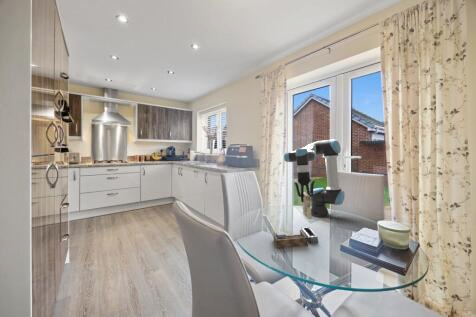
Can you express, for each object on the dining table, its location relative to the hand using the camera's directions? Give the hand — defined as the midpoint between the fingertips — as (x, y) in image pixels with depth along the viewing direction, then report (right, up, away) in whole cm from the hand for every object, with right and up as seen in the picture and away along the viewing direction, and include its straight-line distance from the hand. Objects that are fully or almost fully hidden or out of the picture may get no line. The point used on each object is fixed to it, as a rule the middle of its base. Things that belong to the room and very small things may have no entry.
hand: (306, 206), depth 131 cm
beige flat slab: (+1, -7, 0) cm, 6 cm away
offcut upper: (-17, -20, -1) cm, 27 cm away
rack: (-12, -23, -3) cm, 25 cm away
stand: (+2, -21, +1) cm, 21 cm away
